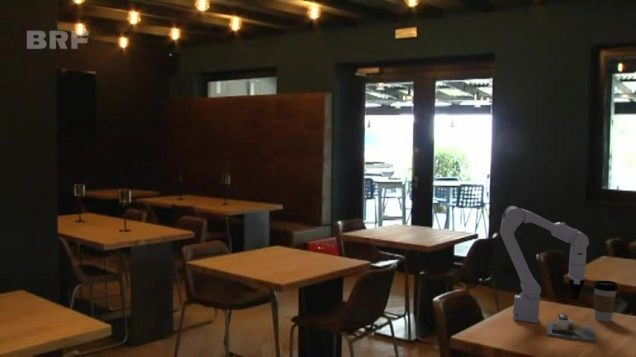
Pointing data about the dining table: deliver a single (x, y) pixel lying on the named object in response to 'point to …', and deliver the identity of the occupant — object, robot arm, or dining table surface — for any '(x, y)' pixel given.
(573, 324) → the clip
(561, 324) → the plug
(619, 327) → the dining table surface
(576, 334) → the panel
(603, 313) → the coffee cup
